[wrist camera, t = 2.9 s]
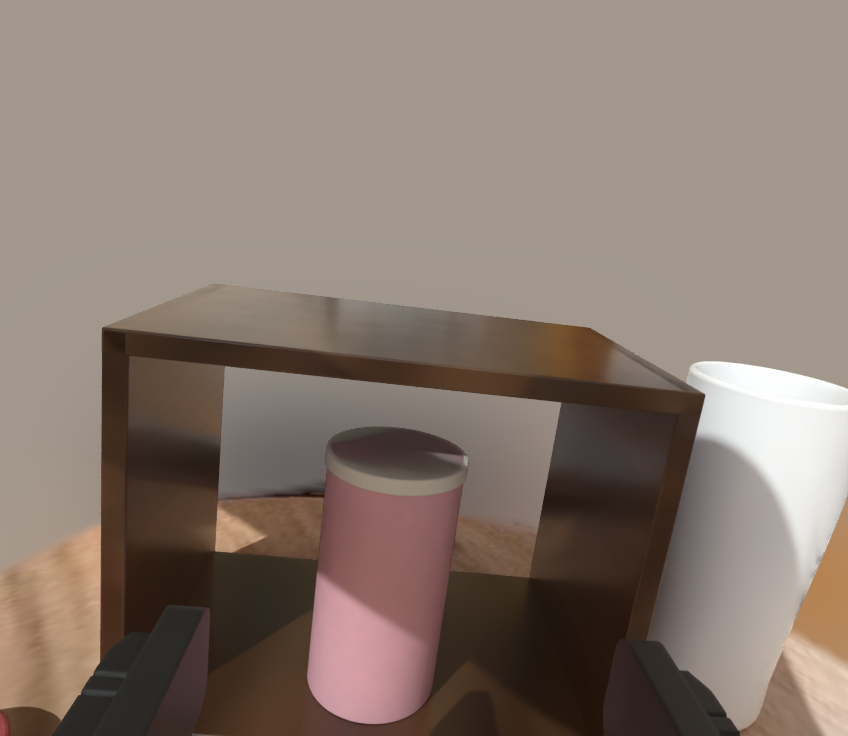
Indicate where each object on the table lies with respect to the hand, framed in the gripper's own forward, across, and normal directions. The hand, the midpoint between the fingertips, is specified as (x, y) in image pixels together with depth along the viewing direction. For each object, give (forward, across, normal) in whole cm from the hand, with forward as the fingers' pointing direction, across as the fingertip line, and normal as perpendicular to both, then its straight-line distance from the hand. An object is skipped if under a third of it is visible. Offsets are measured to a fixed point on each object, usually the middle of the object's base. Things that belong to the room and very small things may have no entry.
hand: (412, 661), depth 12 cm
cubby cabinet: (+14, 0, +11) cm, 18 cm away
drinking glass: (+13, -15, +11) cm, 23 cm away
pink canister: (+12, 0, +10) cm, 16 cm away
